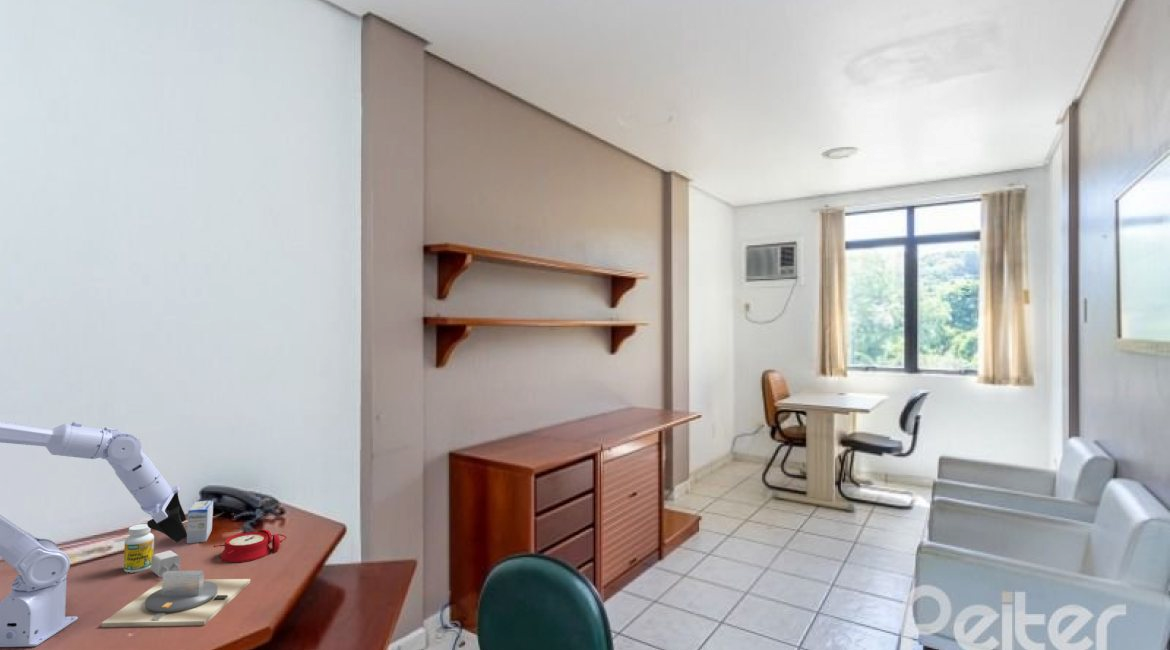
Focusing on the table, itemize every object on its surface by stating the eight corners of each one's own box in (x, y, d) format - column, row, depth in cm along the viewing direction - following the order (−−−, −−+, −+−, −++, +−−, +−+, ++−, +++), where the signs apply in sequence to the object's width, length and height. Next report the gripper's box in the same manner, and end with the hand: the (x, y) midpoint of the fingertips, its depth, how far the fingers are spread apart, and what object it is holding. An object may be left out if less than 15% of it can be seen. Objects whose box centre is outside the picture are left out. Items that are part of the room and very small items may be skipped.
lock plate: (204, 625, 107) (204, 618, 107) (101, 627, 105) (101, 620, 105) (250, 582, 125) (250, 577, 125) (162, 583, 123) (163, 577, 123)
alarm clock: (208, 542, 138) (270, 513, 150) (214, 565, 139) (275, 535, 151) (228, 553, 132) (291, 522, 144) (233, 577, 133) (295, 545, 145)
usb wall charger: (171, 566, 132) (172, 549, 132) (183, 575, 128) (184, 557, 128) (150, 572, 128) (151, 555, 128) (162, 581, 124) (163, 563, 124)
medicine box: (192, 533, 152) (193, 501, 152) (212, 531, 154) (213, 499, 154) (186, 544, 145) (187, 510, 145) (206, 542, 147) (208, 508, 147)
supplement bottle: (154, 561, 134) (155, 521, 134) (152, 570, 129) (153, 528, 129) (124, 566, 131) (126, 524, 131) (121, 575, 126) (123, 532, 126)
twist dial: (196, 612, 110) (197, 585, 110) (130, 613, 109) (131, 586, 109) (228, 584, 122) (229, 560, 122) (169, 584, 120) (170, 560, 121)
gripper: (166, 484, 112) (203, 534, 117) (165, 457, 123) (199, 504, 129) (125, 506, 108) (166, 556, 114) (129, 476, 120) (165, 523, 125)
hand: (181, 530), depth 121 cm, fingers open, 7 cm apart
